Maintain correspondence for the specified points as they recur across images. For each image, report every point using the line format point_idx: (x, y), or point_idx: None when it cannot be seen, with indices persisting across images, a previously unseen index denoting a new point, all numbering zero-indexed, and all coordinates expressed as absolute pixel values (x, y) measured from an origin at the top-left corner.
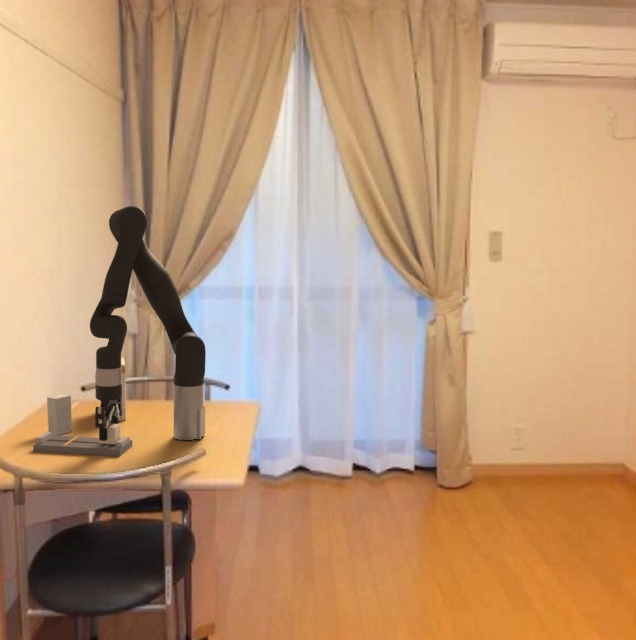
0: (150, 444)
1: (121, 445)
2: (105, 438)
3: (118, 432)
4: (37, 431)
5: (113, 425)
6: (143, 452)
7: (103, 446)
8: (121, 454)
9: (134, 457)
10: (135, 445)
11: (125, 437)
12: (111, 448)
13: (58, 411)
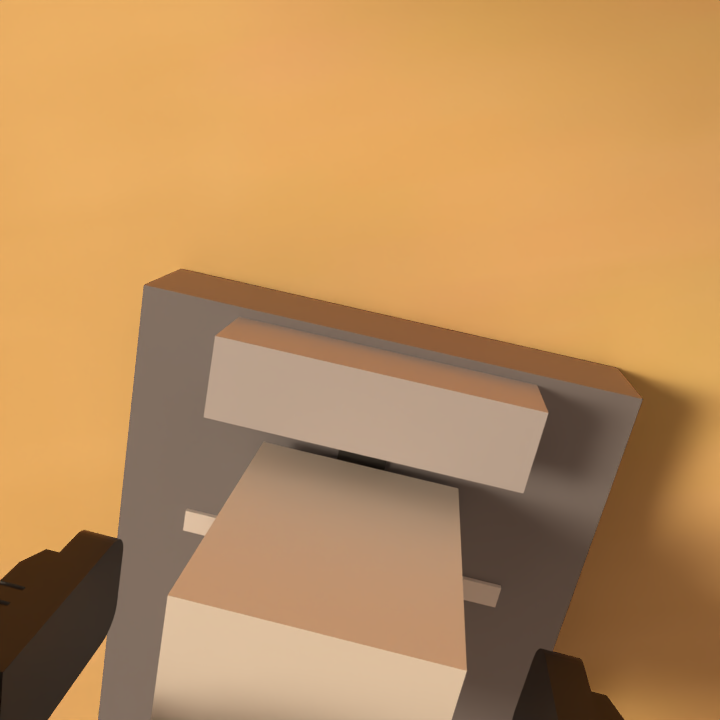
0: (91, 18)
1: (542, 400)
2: (579, 689)
3: (311, 536)
4: None
5: (283, 712)
6: (463, 67)
7: (467, 616)
8: (566, 358)
9: (686, 168)
10: (151, 230)
11: (264, 387)
12: (567, 515)
13: None
